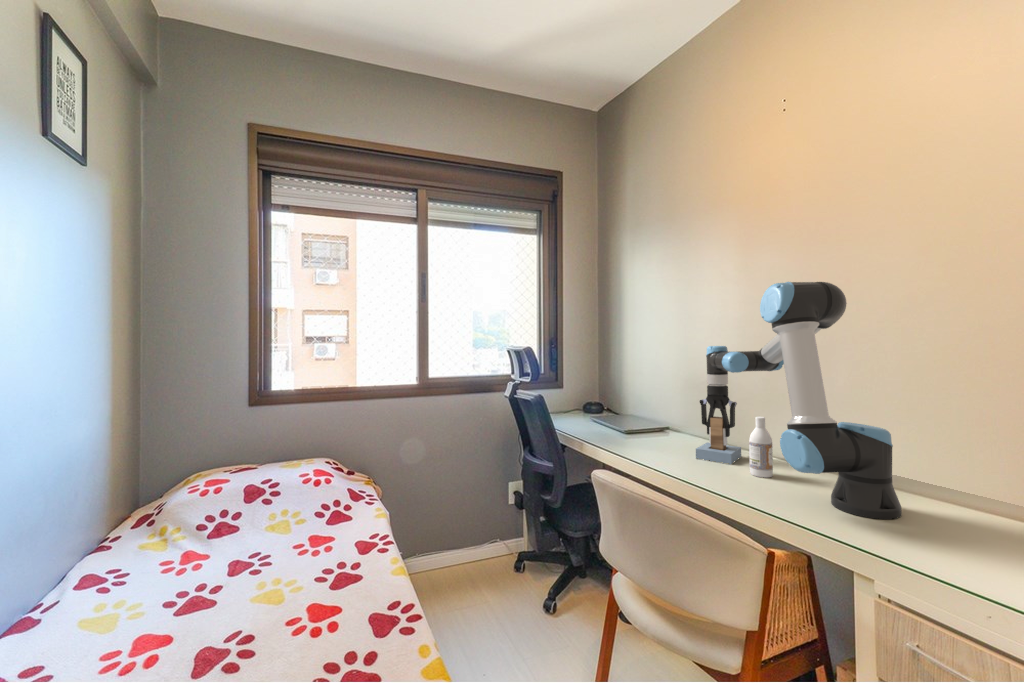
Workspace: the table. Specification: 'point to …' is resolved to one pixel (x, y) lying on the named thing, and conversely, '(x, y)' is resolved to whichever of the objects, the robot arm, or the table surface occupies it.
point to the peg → (717, 433)
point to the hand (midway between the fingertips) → (718, 443)
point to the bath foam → (760, 450)
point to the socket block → (718, 453)
